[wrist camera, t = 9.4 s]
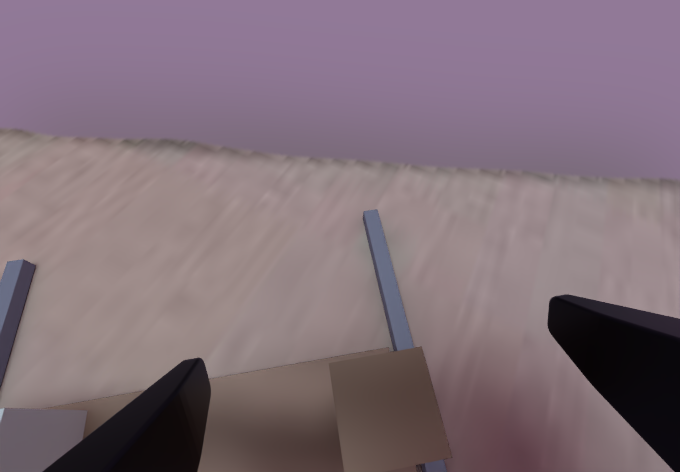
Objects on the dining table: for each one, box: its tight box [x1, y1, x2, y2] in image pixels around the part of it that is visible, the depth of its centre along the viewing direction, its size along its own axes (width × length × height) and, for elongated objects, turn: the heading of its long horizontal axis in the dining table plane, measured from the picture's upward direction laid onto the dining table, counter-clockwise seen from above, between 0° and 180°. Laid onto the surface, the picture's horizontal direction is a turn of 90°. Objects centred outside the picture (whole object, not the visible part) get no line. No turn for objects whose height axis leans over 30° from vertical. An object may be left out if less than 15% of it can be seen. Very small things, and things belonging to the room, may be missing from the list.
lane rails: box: [0, 209, 447, 472], centre depth 19 cm, size 17×25×1 cm
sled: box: [44, 346, 452, 472], centre depth 13 cm, size 6×22×10 cm, turn 99°
